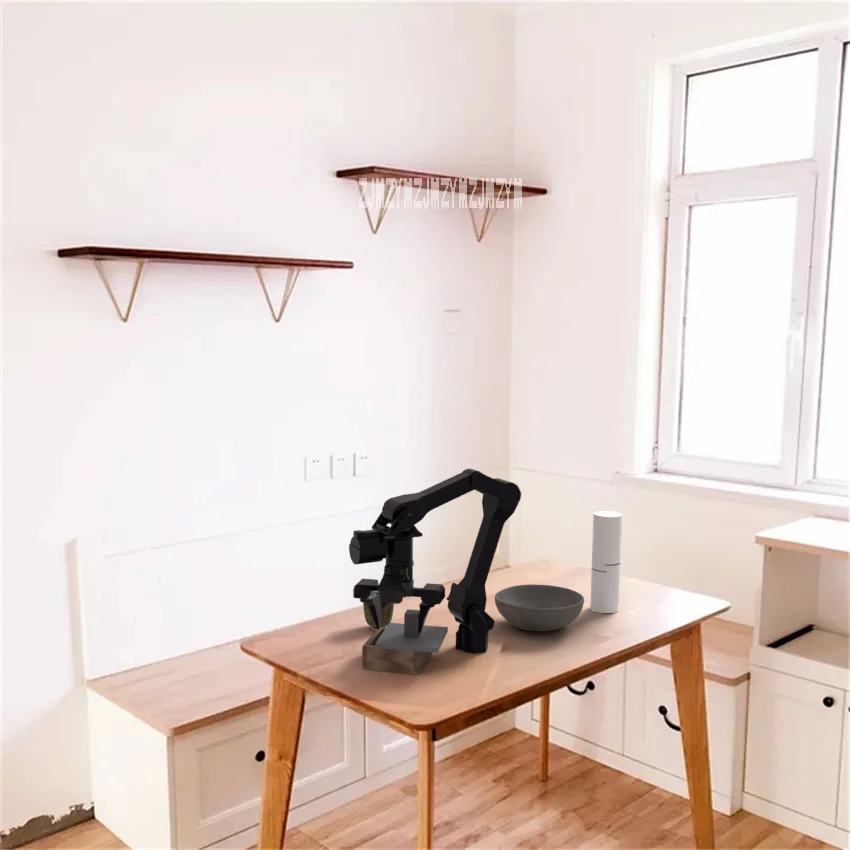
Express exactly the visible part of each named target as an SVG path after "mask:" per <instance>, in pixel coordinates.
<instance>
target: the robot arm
mask: <svg viewBox="0 0 850 850" xmlns="http://www.w3.org/2000/svg"><path fill="white" fill-rule="evenodd" d="M472 491H476V492H478V493H480V494H482V499H481V505H482V515H483V516H482V520H481V523H480V527H479V529H478V532H477V537H476V538H475V542H474V545H473V548H472V552H471V555H470V557H469V561H468V564H467V568H466V571H465V573H464V576H463V578H462V579H461V580H460V581H459V582H458V583H455V582H452V583H451V585H450V591H449V593H448V596H447V597H446V588H445V585H443V584H441V583H429V582H428V583H427V582H426V584H425V585H424V586H423V587H415V586H414V581H415V579H414V572H413V571H414V566H415V565H414V564H415V563H414V561H415V560H414V538H420V537H423V535H424V534H423V533H422V532H421V531H420V530H419V529H418V528H417V526H415V525H416V524H418V523H419V522H421V521H422V520H424V518H425V517H426V516H427V514H428V513H430V512H431V511H433V510H434V509H436V508H439V507H441V506H443V505H446V504H447V503H449V502H452V501H453V500H455V499H458V498H460V497H462V496H463V495H466V494H468V493H470V492H472ZM521 498H522V491H521V489H520V487H519V486H518V484H517V483H515V482H511V481H509V480H505V479H502V478H497V477H496V478H493V477H491V476H489V475H486V474H484V473H483V472H482V471H480V470H476V469H473V468H466V469H464V470H463V471H462V472H459V473H457V474H456V475H453V476H451V477H449V478H446V479H445V480H443V481H440V482H438V483H436V484H433V485H432V486H429V487H428V488H426V489H422V490H421V491H419V492H414V493H408V494H406V493H405V494H400V495H398V496H393V497H390V498H388V499H387V500H385V501H384V502H383V506H382V508H381V509H382V510H381V512H380V514H379V515H378V516H377V518H376V519H375V521H374V523H373V525H371V529H367V530H361V529H360V530H359V529H358V530H353V534H352V535H353V536H352V537H351V539H350V543H349V545H348V552H349V557H350V560H351V561H352V563H353V564H354V565H363V564H370V563H378V562H382V561H383V560H385V565H384V566H383V567H384V569H383V575H382V578H381V580H380V582H379V580H378V579H373V578H361V579H360V580H359V581H358V582H357V583H356V584H355V585H354V586H353V589H352V590H353V591H352V592H353V593H352V595H353V598H354V599H359V602H360V603H363V602H364V603H365V604H366V605H367V606H368V607H369V609H370V611H371V614H372V616H373V619H374V622H375V625H376V627H377V629H378V630H379V629H380V626H381V604H380V602H382V603H385V602H390V603H394V605H398V604H401V603H402V602H403V599H404V598H406V597H407V598H411V597H415V598H420V600H421V602H420V603H419V605H418V607H419V610H420V615H419V625H418V627H419V633H421V631H422V629H423V626H424V625H425V623H426V620H427V617H428V614H429V612H430V610H431V609H432V608H434V607H436V605H441V603H442V602H443V601H444V599H445V597H446V601H448V602H447V609H448V611H449V613H450V614H451V615H452V616H453V617H454V620H455V622H456V623H458V624H459V625H458V629H457V630H456V632H455V650H458V651H462V652H464V653H466V654H467V653H468V654H482V653H484V654H486V653H487V651H488V649H489V631H492V630H493V628H494V625H495V622H496V620H495V619H494V618H493V617H492V616H491V615H490V614H488V612H487V611H486V607H487V598H488V597H487V592H486V590H487V589H486V583H487V580H488V577H489V573H490V570H491V568H492V564H493V561H494V556H495V555H496V551H497V548H498V546H499V545H498V544H499V541H500V538H501V535H502V532H503V528H504V525H505V524H506V522H507V521H508V520H509V519H510V518H511V517H512V515H513V514H514V513H515V511H516V510H517V507H518V505H519V502H521ZM388 524H390V526H389V525H388Z"/></svg>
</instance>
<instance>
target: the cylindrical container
mask: <svg viewBox="0 0 850 850" xmlns="http://www.w3.org/2000/svg"><path fill="white" fill-rule="evenodd" d="M592 514H593V516H592V519H593V521H592V543H591V544H592V545H591V546H592V549H591V550H592V551H591V572H590V573H591V574H590V576H591V577H590V578H591V579H590V605H589V609H590V610H591V611H592V610H593V611H592V612H594V611H595V612H594V613H597V612H599V613H598V614H601V613H613V614H617V613H618V612H619V611H618V610H619V605H620V584H621V583H620V582H621V581H620V580H621V559H622V558H621V557H622V555H621V554H622V553H621V552H622V530H623V529H622V527H623V514H622V513H621V512H617V511H609V510H600V511H599V510H598V511H595V512H593V513H592ZM616 612H617V613H616Z"/></svg>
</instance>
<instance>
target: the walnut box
mask: <svg viewBox="0 0 850 850" xmlns="http://www.w3.org/2000/svg"><path fill="white" fill-rule="evenodd" d="M384 630H385V628H383V627H380V629H379V630H378V629H377V630H376V631H374V632H373V633H372V634H371V636H370V637H369V638H368V639H367V640H366V641H365V642H364V644H363V645H362V646H361V647H362V649H361V650H362V651H361V653H362V655H361V656H362V657H361V658H362V659H361V666H362V669H361V670H363V671H372V672H381V673H388V674H389V673H391V674H399V675H409V676H416V677H417V676H418V677H419V676H420V675H421V672H422V671H423V669H424V668H425V666H426V665H427V663H428V662H429V660H430V658H431V657H432V655H433V653H431V652H419V651H406V650H394V649H382V648H375V643H376V642H377V640H378V639H379V637H380V636H381V634H382V633H383V631H384Z"/></svg>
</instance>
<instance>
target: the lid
mask: <svg viewBox="0 0 850 850" xmlns="http://www.w3.org/2000/svg"><path fill="white" fill-rule="evenodd" d="M419 615H420V609H410V608H409V609H406V611H405V612H404V616H403V617H404V618H403V619H404V621H403V622H404V623H401V622H400V623H399V622H390V623H389V624H388V625H387V626H386V628H385V630H384V631H383V633H382V634H381V636H380V637H379V639H378V640H377V642H376V643H375V648H382V649H394V650H406V651H419V652H431V653H432V654H433V653H434V654H438V653H439V650H440V649H441V647H442V644H443V643H444V640H445V638H446V636H447V634H448V632H449V627H448V626H438V625H437V626H436V625H426V624H424V626H423V629H422V631H421V633H419V627H418V625H419Z"/></svg>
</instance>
